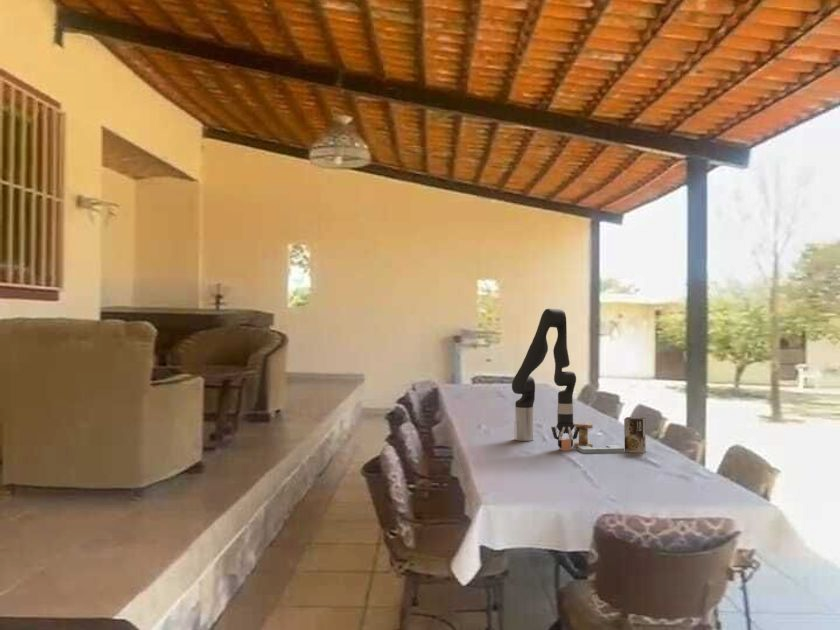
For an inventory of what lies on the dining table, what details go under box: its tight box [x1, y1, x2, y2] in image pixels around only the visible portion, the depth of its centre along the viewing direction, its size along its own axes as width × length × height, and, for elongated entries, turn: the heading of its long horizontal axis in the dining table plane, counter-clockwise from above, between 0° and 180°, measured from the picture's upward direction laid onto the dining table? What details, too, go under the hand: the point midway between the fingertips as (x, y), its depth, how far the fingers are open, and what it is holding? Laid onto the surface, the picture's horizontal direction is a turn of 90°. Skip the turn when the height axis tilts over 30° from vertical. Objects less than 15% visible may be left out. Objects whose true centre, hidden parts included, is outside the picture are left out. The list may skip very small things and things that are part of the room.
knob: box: [573, 422, 594, 448], centre depth 432 cm, size 9×9×11 cm
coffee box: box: [623, 416, 647, 454], centre depth 416 cm, size 9×6×16 cm
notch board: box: [576, 444, 625, 454], centre depth 418 cm, size 20×10×2 cm, turn 96°
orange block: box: [559, 437, 572, 451], centre depth 424 cm, size 4×4×5 cm
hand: (565, 447), depth 424 cm, fingers closed on orange block, 4 cm apart
